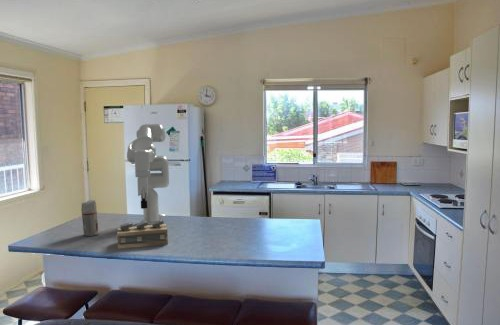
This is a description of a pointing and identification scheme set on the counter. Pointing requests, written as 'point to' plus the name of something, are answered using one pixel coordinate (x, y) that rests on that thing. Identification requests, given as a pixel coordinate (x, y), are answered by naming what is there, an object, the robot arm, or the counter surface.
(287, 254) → the counter surface
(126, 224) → the rocker left
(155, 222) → the rocker right
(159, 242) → the switch unit
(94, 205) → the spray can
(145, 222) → the rocker middle
